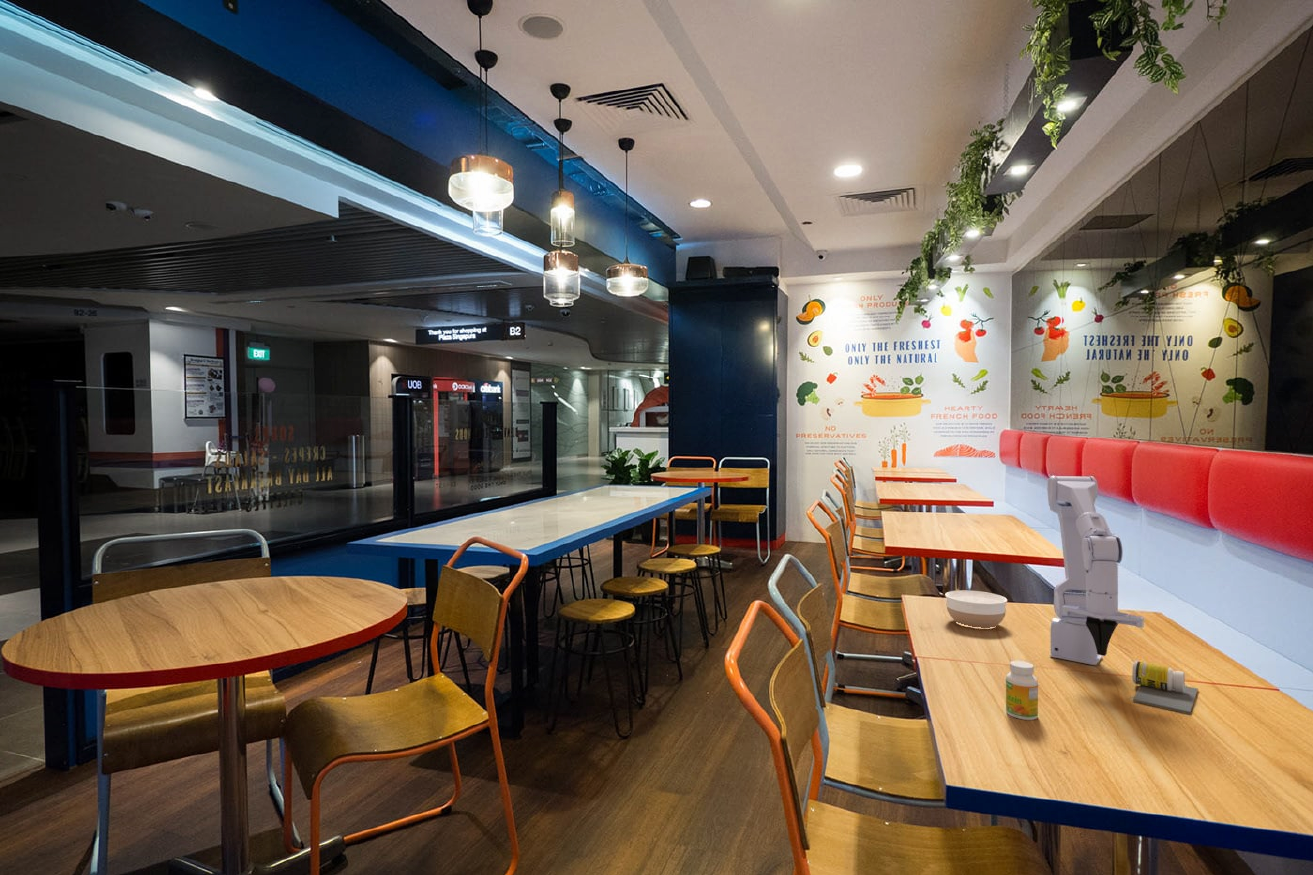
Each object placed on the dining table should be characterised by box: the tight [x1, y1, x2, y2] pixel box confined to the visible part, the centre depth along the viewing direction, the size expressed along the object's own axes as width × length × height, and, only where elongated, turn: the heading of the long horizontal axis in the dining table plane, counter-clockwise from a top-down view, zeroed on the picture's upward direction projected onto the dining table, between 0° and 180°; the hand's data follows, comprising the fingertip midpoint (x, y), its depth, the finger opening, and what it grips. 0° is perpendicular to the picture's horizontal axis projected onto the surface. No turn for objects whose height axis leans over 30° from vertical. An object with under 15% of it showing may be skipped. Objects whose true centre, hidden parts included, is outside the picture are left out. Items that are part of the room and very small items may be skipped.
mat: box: [1132, 685, 1199, 715], centre depth 135 cm, size 9×16×1 cm, turn 137°
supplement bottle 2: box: [1131, 660, 1186, 692], centre depth 138 cm, size 5×5×8 cm
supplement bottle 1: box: [1005, 660, 1039, 721], centre depth 126 cm, size 5×5×10 cm
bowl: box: [944, 589, 1008, 628], centre depth 188 cm, size 16×16×8 cm
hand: (1101, 654), depth 143 cm, fingers closed
